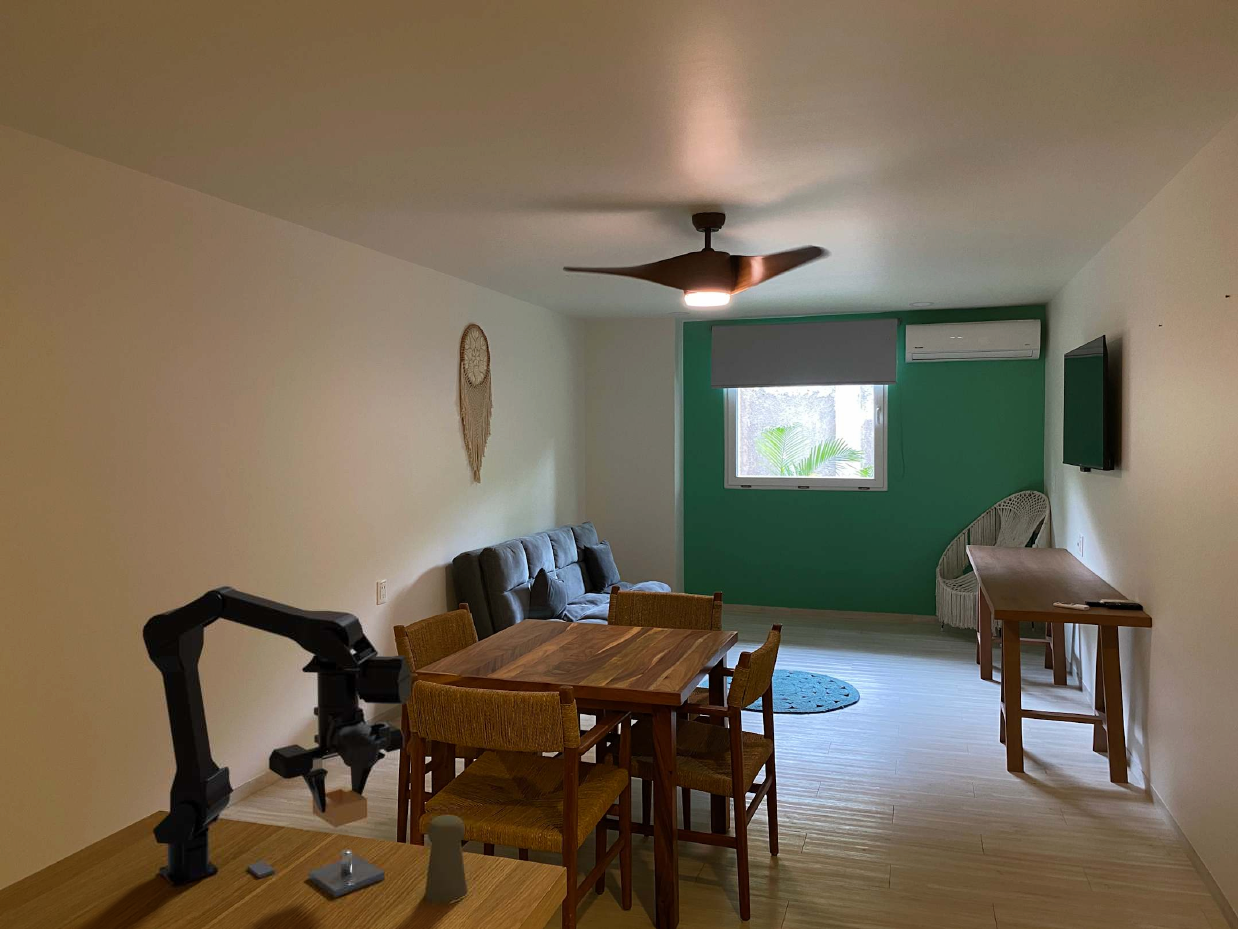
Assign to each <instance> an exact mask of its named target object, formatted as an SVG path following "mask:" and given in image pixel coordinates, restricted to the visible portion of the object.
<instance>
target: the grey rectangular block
mask: <svg viewBox="0 0 1238 929" xmlns="http://www.w3.org/2000/svg"><path fill="white" fill-rule="evenodd" d="M247 870H248V871H249V872H251V873H252V874H253V875H255V876H256V877H257V878H258V879H261V878H264V877H266V876H269V875H273V874H275V873H276V870H275V868H274V867H272V866H271V865H270V864H268V863H267V862H266V861H264V860H260V861H258V862H255V863H252V864H248V865H247Z"/></svg>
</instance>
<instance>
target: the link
mask: <svg viewBox="0 0 1238 929" xmlns="http://www.w3.org/2000/svg"><path fill="white" fill-rule="evenodd" d="M325 794H326V809H325V813H322V812H320V811H319V809H318V806H317V804H316V802H315V800H314V798H313V797H312V814H314V815H315V816H317V817H318V818H320V819H321V820H323V821H325V822H326V823H328V824H329V825H331V826H332V827H334V828H338V827H341V826H345V825H348V824H351V823H353V822H357V821H360V820H363V819H366V818H368V798H367V797H365V796H363V794H362V795H360V794H358V793H356V792H355V791H353V790H352V788H349V787H347V786H346V785H342V786H337V787H333V788H330V789H325Z"/></svg>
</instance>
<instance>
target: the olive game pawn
mask: <svg viewBox="0 0 1238 929" xmlns="http://www.w3.org/2000/svg"><path fill="white" fill-rule="evenodd" d="M428 824H429V825H428V826H427V837H428V840H429V842H430V844H431V845H430V852H429V853H430V854H429V860H428V867H427V868H428V869H427V875H426V881H425V882H426V883H425V888H424V889H425V891H424V898H425V900H427V901H428V902H430V903H431V904H436V905H447V904H446V903H450V902H452V901H454V900H458V899H460V898H461V897H463V896H465V895H466V893H467V894H468V889H467V888H468V887H467V881H466V880H467V879H466V878H467V877H466V871H465V865H464V864H465V863H464V857H463V849H462V842H461V841H462V839H463V838H464V835H465V824H464V821H463V820H462V818H460V817H459V816H456V815H453V814H443V815H442V814H441V815H439V816H436V817H434V818H433V819H431V820H430V822H429V823H428ZM466 896H467V895H466ZM466 896H465V897H466Z"/></svg>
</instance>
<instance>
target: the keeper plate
mask: <svg viewBox="0 0 1238 929" xmlns="http://www.w3.org/2000/svg"><path fill="white" fill-rule="evenodd" d="M307 872H308V875H307V876H308V878H307V879H308V880H309V881H312V882H313V883H314V884H316V885H317V886H318V887H320V888H321V889H322V890H324V891H325V892H326V893H328V894H329V895H330V896H332V897H334V898H338V897H341V896H343V895H345V894H349V893H351V892H354V891H356V890H359V889H362V888H364V887H367V886H369V885H372V884H375V883H377V882H380V881H383V880H385V878H386V877H385V875H386V874H385V871H384V870H382V869H380V868H379V867H377V866H376V865H374V864H372V862H370V861H368V860H366V859H365V858H364V857H362V856H360V855H358V854H354V855H353V850H352V849H343V850H341V851H340V860H337V861H334V862H332V863H329V864H325V865H323V866H320V867H317V868H314V869H312V870H308V871H307Z"/></svg>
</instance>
